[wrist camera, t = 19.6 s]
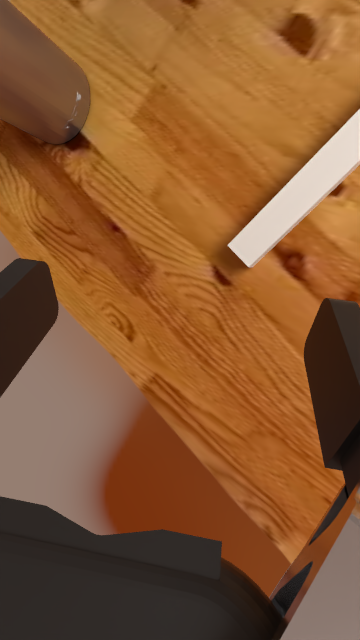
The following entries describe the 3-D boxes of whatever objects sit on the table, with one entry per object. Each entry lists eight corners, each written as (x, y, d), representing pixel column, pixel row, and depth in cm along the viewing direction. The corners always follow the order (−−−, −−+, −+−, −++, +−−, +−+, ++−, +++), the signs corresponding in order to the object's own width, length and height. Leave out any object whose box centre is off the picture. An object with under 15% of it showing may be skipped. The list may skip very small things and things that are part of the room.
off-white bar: (252, 267, 33) (248, 267, 30) (233, 247, 34) (227, 245, 31) (510, 20, 24) (538, -13, 21) (479, -4, 24) (503, -40, 21)
